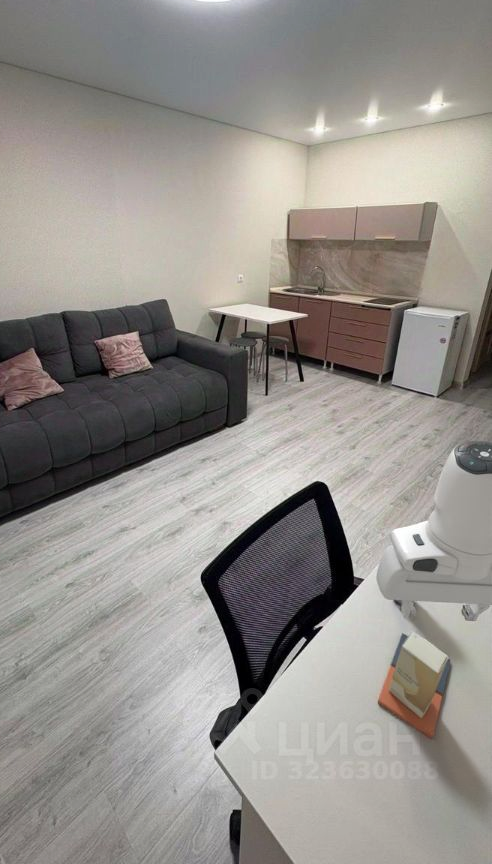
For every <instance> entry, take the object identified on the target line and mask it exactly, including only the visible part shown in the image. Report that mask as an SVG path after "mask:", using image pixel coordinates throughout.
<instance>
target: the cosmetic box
mask: <svg viewBox="0 0 492 864" xmlns="http://www.w3.org/2000/svg"><path fill="white" fill-rule="evenodd" d="M407 636H408V637H407V639H406V640H405V642H404V643H403V645H402V648H401V651H400V654H399V657H398V660H397V664H396V667H395V670H394V673H393V677H392V680H391V683H390V686H389V691H390V692H391V693H392V694H393V695H394V696H396V697H397V698H398V699H399V700H400V701H401V702H402V703H404V704H405V705H406V706H407V707H408V708H409V709H411V710H412V711H413V712H414V713H415V714H417V715H418V716H419V717H420V718H422V717H423V715H424V714H425V712H426V711H427V709H428V707H429V706H430V704H431V702H432V699H433V697H434V694H435V692H436V689H437V686H438V684H439V681H440V678H441V676H442V673H443V671H444V668H445V665H446V663H447V660H448V659H450V658H449V656H448V655H447V654H446V653H444V652H443V651H441V650H440V648H438V647H436V646H435V645H434V644H433V643H431V642H430V641H429V640H427V639H425V638H424V637H423V636H421V635H419V634H418V633H417V632H416V631H414V630H412V631H411V632H410V633H409V635H407Z"/></svg>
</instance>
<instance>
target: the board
mask: <svg viewBox="0 0 492 864" xmlns="http://www.w3.org/2000/svg"><path fill="white" fill-rule="evenodd" d="M408 636H409V635H407V634H405V633H401V636H400V639H399V641H398V644H397V647H396V648H395V649H396V650H395V652H394V655H393V657H392V660H391V663H390V666H389V669H388V671H387V674H386V677H385V679H384V682H383V685H382V688H381V691H380V693H379V697H378V698H377V704H378V705H380V706H381V707H383V708H384V709H386V710H388V711H389V712H391V713H392V714H393V715H395V716H397V717H398V718H400V719H401V720H403V721H404V722H406V723H407V724H409V726H412V727H413V728H415V729H416V730H418V731H419V732H420V733H422V734H423V735H425V736H427V737H428V738H430V739H431V740H432V739H433V738H434V734H435V730H436V726H437V722H438V718H439V717H438V716H439V713H440V708H441V704H442V700H443V695H444V691H445V687H446V682H447V679H448V673H449V670H450V665H451V659H450V658H448V660H447V663H446V665H445V668H444V671H443V673H442V676H441V678H440V681H439V684H438V686H437V689H436V692H435V694H434V697H433V699H432V702H431V704H430V706H429V707H428V709H427V711H426V712H425V714H424V715H423V717H422V718H420V717H419V716H418V715H417V714H415V713H414V712H413V711H412V710H411V709H409V708H408V707H407V706H406V705H405V704H404V703H402V702H401V701H400V700H399V699H398V698H397V697H396V696H394V695H393V694H392V693H391V692H390V691H389V686H390V683H391V680H392V677H393V673H394V670H395V667H396V664H397V660H398V657H399V654H400V651H401V648H402V645H403V643H404V642H405V640H406V639H407V637H408Z"/></svg>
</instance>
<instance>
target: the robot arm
mask: <svg viewBox="0 0 492 864" xmlns="http://www.w3.org/2000/svg"><path fill="white" fill-rule="evenodd" d="M433 497H434V499H433V501H434V509H433V511H432V512H431V514H430V515H429V517H428V520H424V521H420V522H419V523H414V524H411V525H406V526H403V527H397V528H394V529H392V530H391V532H390V535H389V538H390V542H391V544H389V545H388V546H387V547H386V548H385V549H384V550H383V552H382V555H381V557H380V559H379V563H378V567H377V571H376V577H375V578H376V582H377V586H378V589H379V591H380V593H381V594H382V596H383V597H384V598H385V599H386V600H388V601H395V600H401V602H402V605H401V606H400V609H401V613H402V615H403V618H406V619H408V618H409V619H415V618H416V616H415V615H416V614H417V609H416V607H415V606H414V604H413V602H412V601H415V602H427V603H428V602H429V603H445V604H446V603H447V604H462V608H461V609H460V610H461V615H462V616H463V617H464V620H465V621H466V622H477V621H478V618H479V615H481V614H482V613H484V612H486V611H487V610H489V609H490V607H491V606H492V442H491V441H490V442H489V441H485V440H469V441H464V442H461V443H459V444H457V445H456V446H454V447H453V449H452V450H451V452H450V453H449V455H448V457H447V459H446V461H445V463H444V465H443V467H442V470H441V473H440V476H439V479H438V482H437V484H436V488H435V492H434V496H433Z"/></svg>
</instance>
